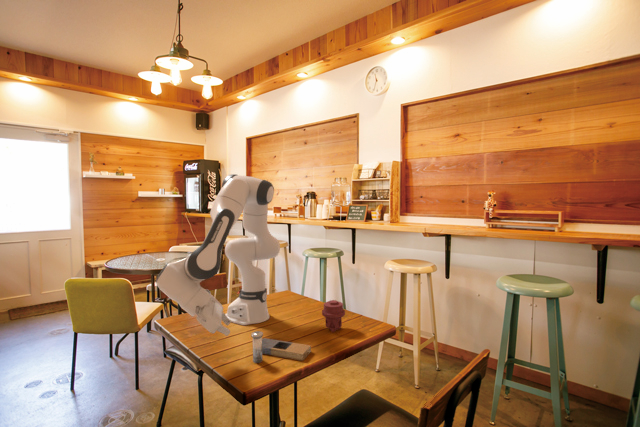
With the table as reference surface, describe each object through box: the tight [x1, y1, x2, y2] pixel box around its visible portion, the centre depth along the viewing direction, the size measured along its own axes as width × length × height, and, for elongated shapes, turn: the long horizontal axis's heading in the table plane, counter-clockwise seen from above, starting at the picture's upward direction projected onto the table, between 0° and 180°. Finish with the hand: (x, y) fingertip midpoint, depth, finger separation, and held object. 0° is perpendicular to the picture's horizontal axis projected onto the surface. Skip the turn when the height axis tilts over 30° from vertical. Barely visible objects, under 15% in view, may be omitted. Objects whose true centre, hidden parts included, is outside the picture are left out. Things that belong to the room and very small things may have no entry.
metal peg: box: [250, 330, 264, 364], centre depth 117 cm, size 4×4×10 cm
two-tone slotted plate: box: [262, 337, 312, 362], centre depth 124 cm, size 20×7×2 cm, turn 69°
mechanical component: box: [321, 299, 346, 333], centre depth 145 cm, size 12×10×10 cm
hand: (229, 328), depth 114 cm, fingers open, 8 cm apart
